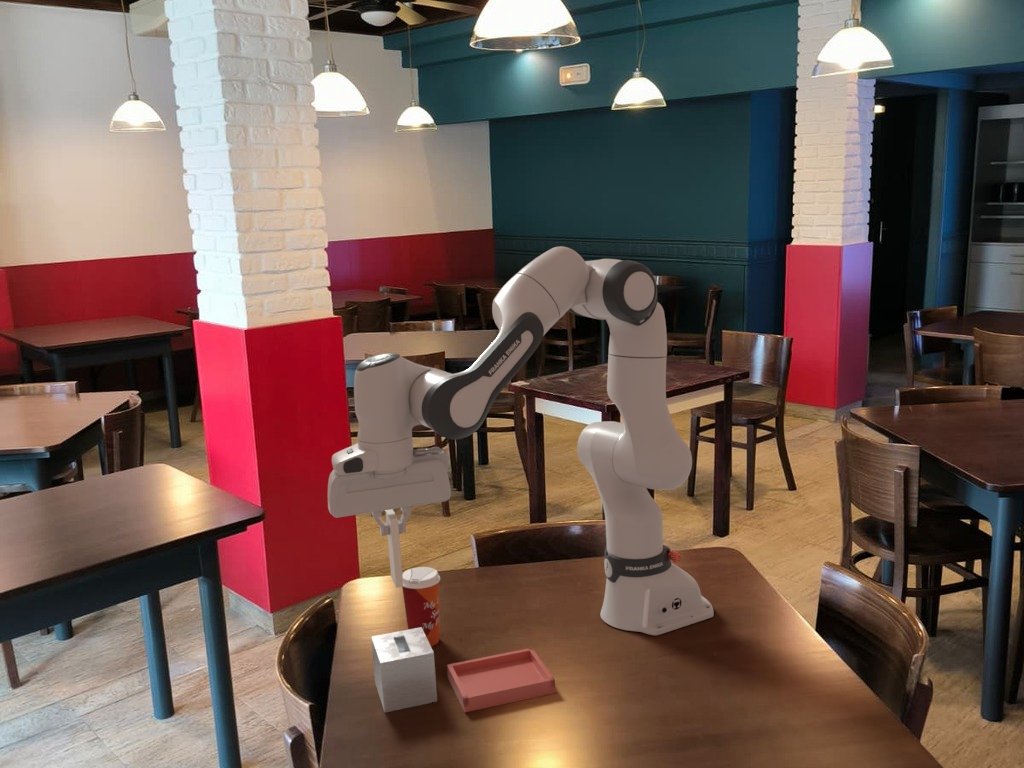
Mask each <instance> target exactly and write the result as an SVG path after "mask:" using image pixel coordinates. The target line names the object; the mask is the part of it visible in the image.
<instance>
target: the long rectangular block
mask: <svg viewBox="0 0 1024 768" xmlns="http://www.w3.org/2000/svg"><path fill="white" fill-rule="evenodd" d="M384 511H385V520H386V521H385V522H388V524H389V525H390V535H387V544H388V556H389V565H390V568H389V569H390V578H391V579H392V581H393V584H394V586H395V588H396V589H397V588H398V589H400V588H402V587H403V575H402V574H403V566H402V565H403V564H402V563H403V562H402V555H401V542H400V533H399V527H398V520H399V518H398V516H397V514H396V513H395V511H394V509H391V510H384Z"/></svg>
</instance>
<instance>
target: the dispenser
mask: <svg viewBox="0 0 1024 768" xmlns="http://www.w3.org/2000/svg"><path fill="white" fill-rule="evenodd" d="M370 637H371V639H370V640H371V650H372V660H373V662H372V663H373V672H374V683H375V687H376V689H377V693H378V696H379V699H380V702H381V706H382V709H383V712H384V713H390V712H394V711H398V710H399V711H400V710H404V709H409V708H414V707H418V706H423V705H427V704H433V703H436V702H438V693H437V681H436V679H437V678H436V677H437V676H436V666H435V653H434V650H433V648H432V647H431V646H430V644H429V642H428V639H427V637H426V635H425V633H424V631H423V629H422V627H420V628H414V629H409V630H408V629H405V630H399V631H393V632H389V633H383V634H377V635H372V636H370ZM432 702H433V703H432Z"/></svg>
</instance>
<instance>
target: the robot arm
mask: <svg viewBox="0 0 1024 768" xmlns="http://www.w3.org/2000/svg"><path fill="white" fill-rule="evenodd" d="M495 295H496V296H494V298H493V300H492V307H491V309H492V311H491V312H492V319H493V320H494V323H495V326H496V327H497V328H498V333H497V335H496V338H495V339H494V340H493V342H491V343H490V345H489V346H488V347H487V348H486V349H485V350H484V351H483V352H482V354H481V355H479V357H478V358H477V359H476V361H474V362H473V364H472V365H471V366H469V368H467V369H465V370H463V371H460V372H455V373H451V372H447V371H445V370H443V369H439V368H435V367H430V366H427V365H426V366H425V365H422V364H419V363H416V362H413V361H411V360H410V359H407V358H405V357H403V356H402V355H401V354H399V353H395V352H387V353H380V354H376V355H372V356H370V357H367V358H365V359H364V360H362V361H361V362H360V363H358V364H357V366H356V369H355V371H354V380H353V382H354V383H353V395H354V396H353V397H354V398H353V399H354V411H355V416H356V418H357V420H358V430H357V442H356V443H355V444H353V445H350V446H349V447H345V448H344V449H341V450H339V451H337V452H335V453H334V454H332V456H331V465H332V468H333V469H332V471H331V472H330V474H329V477H328V481H327V482H328V483H327V508H328V512H329V513H330V515H332V516H333V517H334V518H336V519H337V518H342V517H349V516H357V515H363V514H371V516H372V518H373V519H374V521H375V522H376V523H377V525H378V526H379V533H380V536H381V537H384V536H388V535H390V525H389V524H388V522H386V521H385V522H384V521H383V520H382V519H381V518H382V516H383V513H382V512H384V511H385V510H391V509H393V510H395V509H397V510H398V509H400V511H401V513H402V514H401V515H400V518H399V519H398V527H399V534H405V533H406V532H407V531H406V530H407V528H406V523H407V521H408V519H409V518H410V516H411V513H412V508H411V507H415V506H423V505H430V504H435V503H436V504H437V503H442V502H444V503H445V502H447V501H448V500H449V499H450V498H451V496H452V490H451V483H450V479H449V478H450V477H449V474H448V470H449V468H450V454H449V453H448V452H447V451H446V450H445V449H444V448H440V447H439V446H433V447H430V448H429V447H428V448H427V447H426V448H417V449H414V443H413V442H414V441H413V428H414V427H415V426H421V425H422V426H423V427H427V428H429V429H431V431H434V432H435V433H436V434H438V435H439V436H440V437H443V438H445V439H448V440H461V439H464V438H467V437H469V436H472V435H473V434H474V433H476V431H478V430H479V428H480V427H481V426H482V425H483V423H484V422H485V420H486V418H487V416H488V413H489V411H490V409H491V407H492V405H493V404H494V402H495V400H496V398H497V397H498V396H499V394H500V393H501V392H502V391H503V390H504V388H505V387H506V386H507V385H508V384H509V383H510V382H511V380H512V379H513V378H514V377H515V376H516V375H517V373H518V372H519V371H520V370H521V368H523V366H524V365H525V364H526V363H527V361H529V359H530V358H531V357H532V355H533V354H534V353H535V351H536V350H537V349H538V347H539V345H540V344H541V342H542V340H543V338H544V336H545V335H546V334H547V332H549V331H550V329H551V328H553V326H554V325H555V324H556V323H557V322H558V321H559V320H560V319H561V318H562V317H563V316H564V315H565V314H566V313H567V312H570V314H571V313H572V314H573V315H575V316H579V317H586V318H591V319H595V320H601V321H604V320H605V321H606V323H607V325H608V328H609V333H610V334H609V340H608V341H609V342H608V355H607V357H608V359H607V375H606V377H607V378H606V379H607V381H606V391H607V392H606V393H607V396H608V398H609V399H610V401H611V402H612V403H613V404H614V405H615V406H616V408H617V409H618V412H619V414H620V416H621V419H622V422H619V421H615V420H613V421H612V420H611V421H608V420H607V421H595V422H592V423H589V424H587V426H585V427H584V428H583V429H582V431H581V433H580V435H578V440H577V445H576V452H577V456H578V459H579V461H580V463H582V465H583V466H584V467H585V468H586V470H587V471H588V473H590V476H591V478H592V480H593V481H594V485H595V487H596V489H597V491H598V494H599V496H600V500H601V504H602V507H603V513H604V519H605V520H604V522H605V540H606V541H605V542H606V546H605V548H604V563H603V564H604V565H603V566H604V574H605V577H606V580H605V591H604V598H603V602H602V607H601V610H600V618H601V619H602V621H603V622H604V623H606V624H607V625H609V626H611V627H613V628H616V629H619V630H623V631H630V632H640V633H643V634H647V635H650V636H659V635H663V634H665V633H669V632H672V631H674V630H678V629H681V628H683V627H687V626H690V625H693V624H696V623H699V622H702V621H705V620H707V619H710V618H711V619H712V618H713V617H714V608H713V605H712V603H711V602H710V601H709V600H708V599H707V598H705V597H704V596H703V595H702V593H701V589H700V586H699V584H698V582H697V580H696V579H695V578H694V577H693V576H692V575H690V574H689V573H688V572H687V571H685V570H683V569H682V568H681V567H679V566H678V565H676V564H677V563H679V562H680V561H681V560H682V555H681V554H680V553H679V552H678V551H676V549H672V550H671V548H670V547H669V546H667V545H665V544H664V539H663V538H664V537H663V535H664V534H663V525H664V524H663V512H662V510H661V507H660V505H659V504H658V503H657V502H656V500H655V499H654V498H653V497H652V496H651V494H650V492H649V491H648V489H650V490H658V491H659V490H665V491H669V490H671V491H672V490H676V489H678V488H680V487H681V486H682V485H683V484H684V483H685V482H686V481H687V479H688V477H690V473H691V471H692V467H693V458H692V457H693V456H692V451H691V449H690V447H689V446H688V444H687V443H686V442H685V441H684V440H683V438H682V436H681V435H680V434H679V432H678V431H677V428H676V427H675V424H674V422H673V420H672V417H671V413H670V410H669V407H668V401H667V392H666V391H667V390H666V389H667V388H666V387H667V383H666V381H667V354H668V351H667V350H668V336H667V325H666V324H667V322H666V317H665V310H664V308H663V306H662V305H661V304H660V302H659V301H658V285H657V282H656V278H655V276H654V274H653V271H652V270H651V269H650V268H649V267H647V266H646V265H645V264H643V263H641V262H638V261H635V260H630V259H625V260H623V259H622V260H621V259H617V258H601V259H594V260H587V259H586V260H585V259H584V258H583V257H582V256H581V254H579V253H578V252H577V251H576V250H574V249H572V248H571V247H568V246H567V247H566V246H563V245H562V246H561V245H560V246H555V247H552V248H550V249H548V250H547V251H545V252H543V253H542V254H540V255H538V256H537V257H535V258H534V259H533V260H532V261H530V262H529V263H527V264H526V265H525V266H523V267H522V268H521V269H520V270H519V271H518V272H517V273H515V274H514V275H513V276H512V277H511V278H510V279H509V280H508V281H506V283H505V284H504V285H503V286H502V287H501V288H500V289H499V291H498V292H497V294H495ZM674 563H675V564H674Z"/></svg>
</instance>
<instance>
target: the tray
mask: <svg viewBox="0 0 1024 768" xmlns="http://www.w3.org/2000/svg"><path fill="white" fill-rule="evenodd" d="M446 671H447V679H448V681H449V684H450V685H451V687H452V689H453V691H454V694H455V696H456V699H458V702H459V704H460V706H461V708H462V710H463V712H464V713H469V712H474V711H479V710H482V709H488V708H492V707H496V706H497V707H498V706H502V705H506V704H510V703H515V702H520V701H524V700H529V699H533V698H537V697H542V696H547V695H553V694H556V679H555V678H554V676H553V675H552V674H551V672H550V670H549V669H548V668H547V666H546V665H545V663H544V662H543V661H542V659H541V658H540V656H539V655H538V654H537V652H536V651H535V649H534V648H533V647H529V648H524V649H519V650H513V651H510V652H503V653H499V654H495V655H489V656H483V657H479V658H474V659H469V660H465V661H464V660H463V661H459V662H458V661H457V662H452V663H449V664H446Z"/></svg>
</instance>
